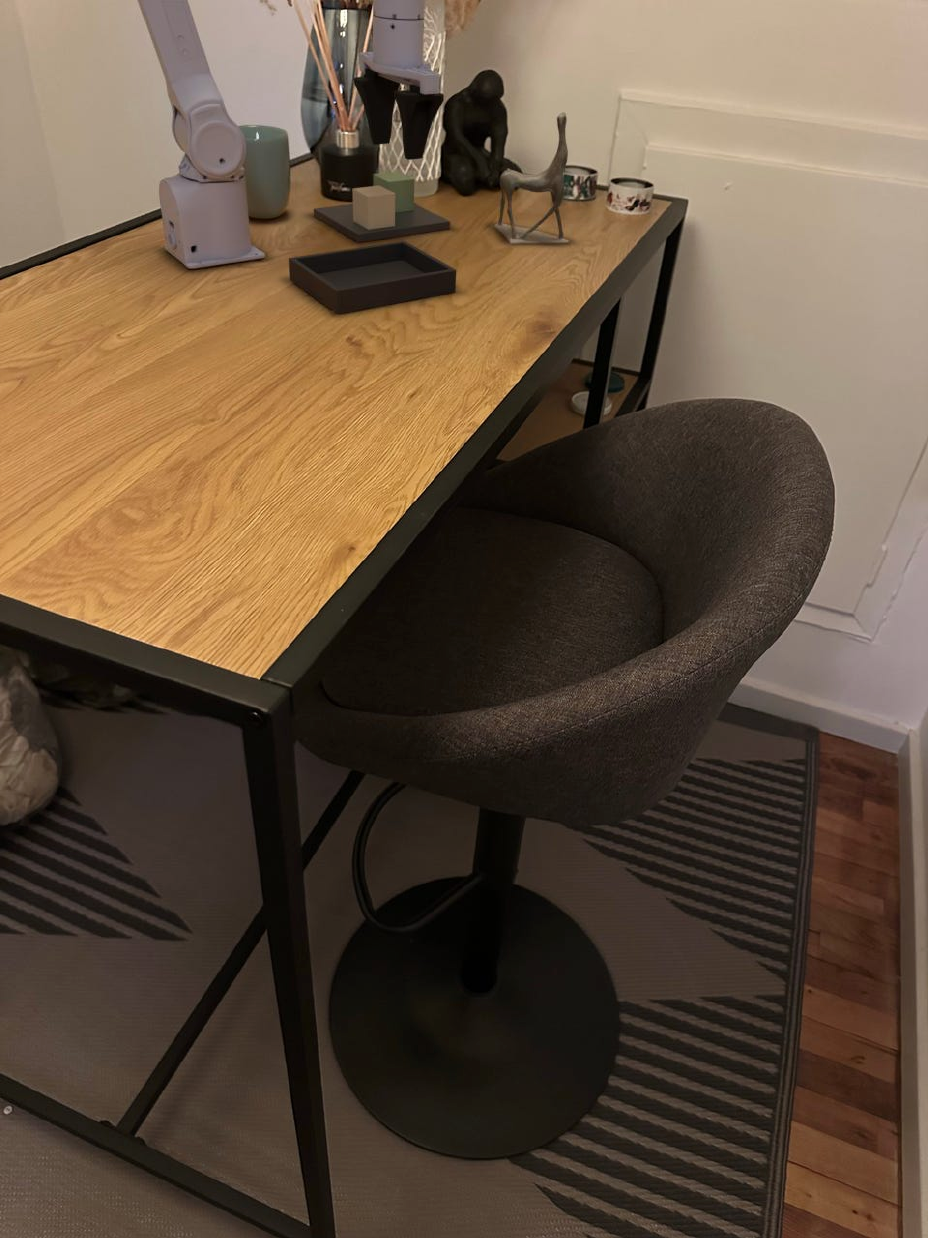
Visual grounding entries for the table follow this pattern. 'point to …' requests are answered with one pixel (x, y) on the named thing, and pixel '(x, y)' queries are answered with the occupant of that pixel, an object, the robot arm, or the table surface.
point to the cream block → (373, 207)
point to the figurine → (536, 183)
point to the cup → (266, 170)
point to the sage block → (398, 189)
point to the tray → (371, 276)
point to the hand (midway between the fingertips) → (397, 150)
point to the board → (404, 225)
